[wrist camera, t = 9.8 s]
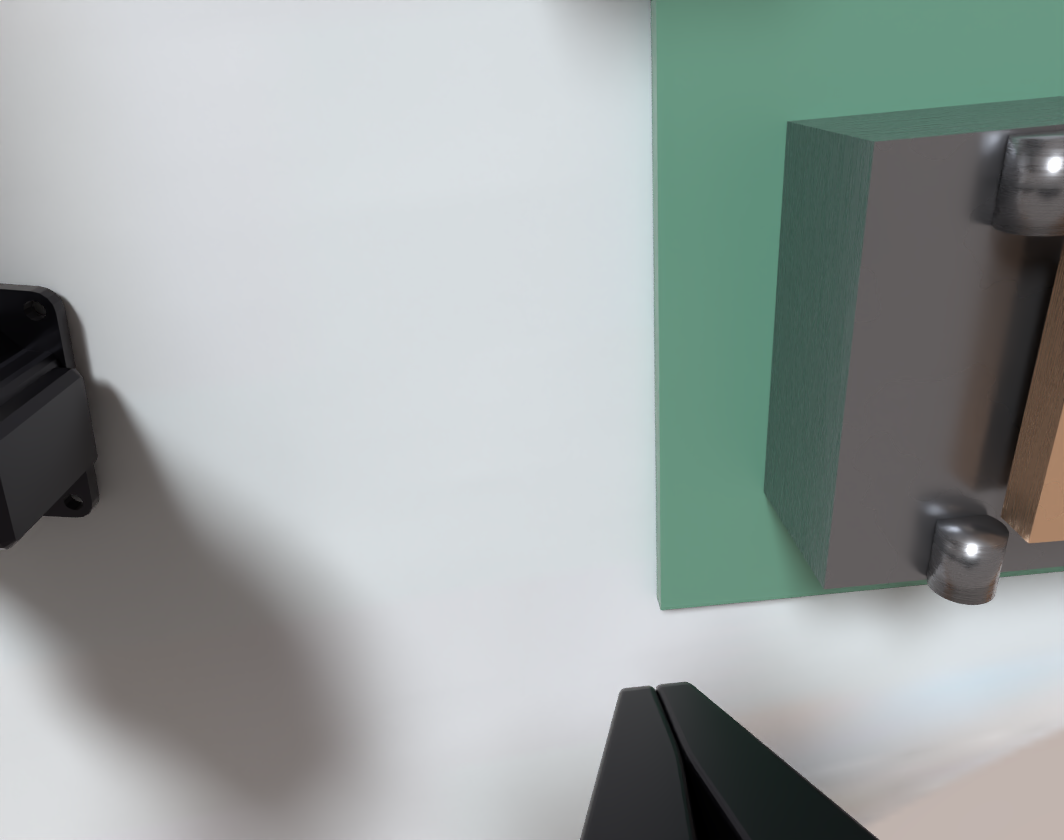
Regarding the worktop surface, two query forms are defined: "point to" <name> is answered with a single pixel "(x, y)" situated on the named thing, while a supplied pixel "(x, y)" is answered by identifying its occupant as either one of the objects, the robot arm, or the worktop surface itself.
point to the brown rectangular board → (1042, 437)
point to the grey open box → (912, 339)
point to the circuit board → (776, 233)
